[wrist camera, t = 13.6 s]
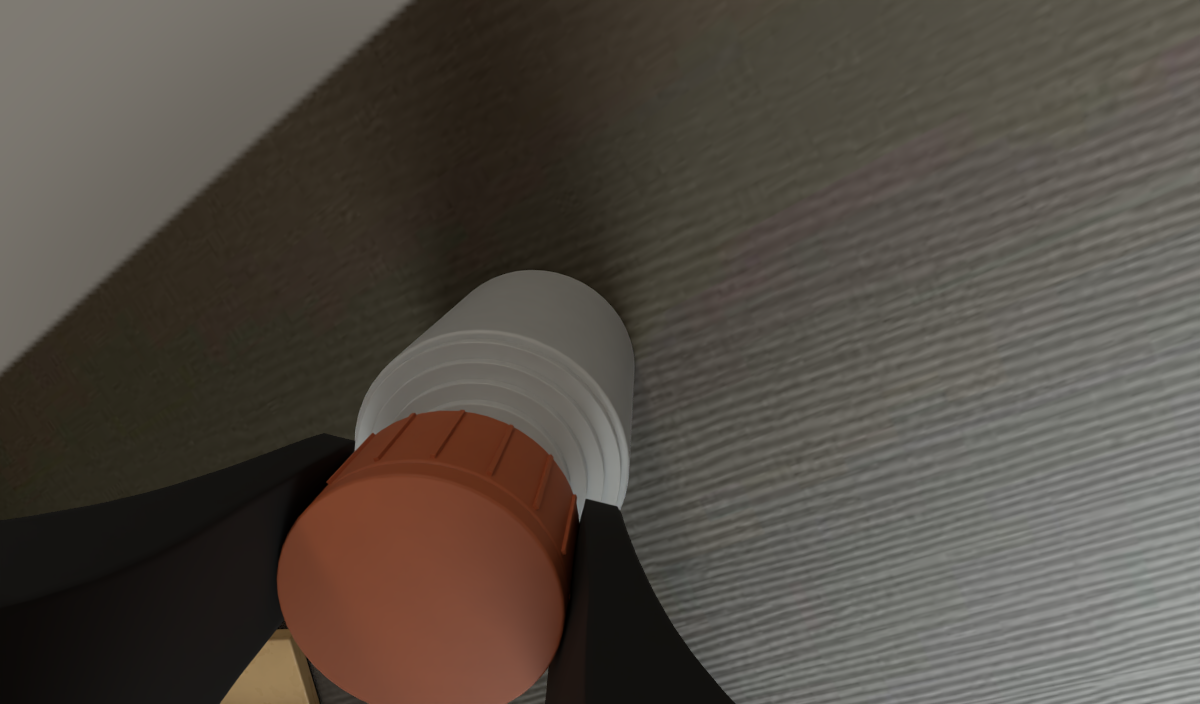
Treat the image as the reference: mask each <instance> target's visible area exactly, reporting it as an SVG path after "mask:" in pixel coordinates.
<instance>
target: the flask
mask: <svg viewBox="0 0 1200 704" xmlns="http://www.w3.org/2000/svg"><path fill="white" fill-rule="evenodd" d="M634 372H635V362H634V352H633V348H632V343H631V340H630V337H629V335H628V332H627V329H626V328H625V326H624V324H623V322H622V320H621V318H620V317H619V315H618V314H617V313H616V311H615V310H614V308H613V307H612V306H611V305H610V304H609V303H608V302H607V301H606V300H605V299H604V298H603V297H602V296H601V295H600V294H598V293H597V292H596V291H595V290H593V289H592V288H590V287H589V286H587V285H585V284H584V283H582V282H580V281H578V280H576V279H574V278H571V277H569V276H566V275H562V274H559V273H555V272H550V271H543V270H524V271H516V272H511V273H506V274H503V275H500V276H498V277H495V278H492V279H491V280H489V281H487V282H485V283H483V284H481V285H480V286H479V287H477V288H476V289H474V290H473V291H472V292H470V293H469V294H468V295H467V296H466V297H465V298H464V299H462V300H461V301H460V302H459V303H458V304H457V305H456V306H454V307H453V308H452V309H451V310H450V311H449V312H447V313H446V314H445V315H444V316H443V317H442V318H441V319H439V320H438V321H437V322H436V323H435V324H434V325H433V326H431V327H430V328H429V329H428V330H427V331H426V332H424V333H423V334H422V335H421V336H420V337H419V338H418V339H416V340H415V341H414V342H413V343H412V344H411V345H409V346H408V347H407V348H406V349H405V350H404V351H403V352H401V353H400V354H399V355H398V356H397V357H396V358H395V359H394V360H392V361H391V362H390V363H389V364H388V365H387V366H386V367H385V368H384V369H383V370H382V371H381V373H380V374H379V375H378V377H377V378H376V379H375V381H374V382H373V383H372V385H371V387H370V389H369V390H368V392H367V394H366V396H365V398H364V400H363V403H362V406H361V408H360V411H359V414H358V419H357V424H356V429H355V441H356V442H355V451H356V449H357V448H358V447H359V446H360V445H361V444H362V443H363V442H364V441H365V440H366V439H367V438H368V437H369V436H370V435H371V434H372V433H374V434H375V435H376V434H377V433H378V432H380V431H381V430H382V429H384V428H386V427H388V426H389V425H391V424H393V423H395V422H397V421H399V420H402V419H404V418H407V417H409V415H410V414H411V413H416V415H417V414H421V413H426V412H434V411H460V410H465V412H471V413H476V414H480V415H484V416H489V417H491V418H494V419H497V420H499V421H502V422H505V423H507V424H508V425H510V424H511V425H513V426H514V428H516V429H518V430H520V431H521V432H523V433H524V434H526V435H527V436H529V437H530V438H532V439H533V440H534V441H535V442H536V443H538V444H539V445H540V446H541V447H542V448H543V449H544V450H545V451H546V452H547V453H548V454H549V455H550V454H551V455H552V456H553V457H554V458H553V459H554V461H555V462H556V463H557V465H558V466H559V468H560V469H561V470H562V472H563V473H564V475H565V477H566V479H567V481H568V483H569V485H570V487H571V489H572V492H573V494H576V495H577V502H576V504H577V509H578V514H579V522H580V518H581V514H582V511H583V507H584V503H585V499H590V500H594V501H598V502H602V503H606V504H610V505H614V506H617V507H618V508H619V510H620V509H621V506H622V504H623V501H624V498H625V495H626V490H627V485H628V481H629V466H630V447H631V428H632V410H633V391H634Z"/></svg>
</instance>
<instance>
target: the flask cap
mask: <svg viewBox="0 0 1200 704" xmlns="http://www.w3.org/2000/svg"><path fill="white" fill-rule="evenodd" d="M553 458H554V457H553V456H552V455H551V454H550V455H549V454H548V453H547V452H546V451H545V450H544V449H543V448H542V447H541V446H540V445H539V444H538V443H536V442H535V441H534V440H533V439H532V438H530V437H529V436H527V435H526V434H524V433H523V432H521V431H520V430H518V429H516V428H514V426H513V425H511V424H510V425H508V424H507V423H505V422H502V421H499V420H497V419H494V418H491V417H489V416H484V415H480V414H476V413H471V412H465V410H460V411H434V412H426V413H421V414H417V415H416V413H411V414H410V415H409V417H407V418H404V419H402V420H399V421H397V422H395V423H393V424H391V425H389V426H388V427H386V428H384V429H382V430H381V431H380V432H378V433H377V434H376V435H375V434H374V433H372V434H371V435H370V436H369V437H368V438H367V439H366V440H365V441H364V442H363V443H362V444H361V445H360V446H359V447H358V448H357V449H356V451H355V452H354V453H353V454H352V455H351V456H350V457H349V458H348V459H347V460H346V461H345V462H344V463H343V464H342V466H341V467H340V468H339V469H338V470H337V471H336V472H335V473H334V474H333V475H332V476H331V477H330V478H329V479H328V481H327V483H328V485H327V486H326V488H325V489H324V490H323V491H322V492H321V493H320V494H319V495H318V496H317V497H316V498H315V500H314V501H313V502H312V503H311V504H310V505H309V506H308V507H307V508H306V509H305V510H304V512H303V513H302V514H301V515H300V516H299V517H298V518H297V520H296V521H295V523H294V524H293V526H292V527H291V529H290V530H289V532H288V534H287V537H286V539H285V541H284V543H283V546H282V549H281V553H280V557H279V561H278V569H277V591H278V598H279V603H280V607H281V611H282V614H283V617H284V619H285V622H286V625H287V627H288V629H289V631H290V633H291V635H292V636H293V638H294V640H295V642H296V643H297V645H298V646H299V648H300V649H301V650H302V652H303V653H304V655H305V656H306V657H307V658H308V659H309V660H310V661H311V663H312V664H313V665H314V666H315V667H316V668H317V669H318V670H319V671H320V672H321V673H323V674H324V675H325V676H326V677H327V678H328V679H329V680H331V681H332V682H333V683H335V684H336V685H337V686H339V687H340V688H342V689H343V690H345V691H346V692H348V693H350V694H351V695H353V696H355V697H357V698H358V699H360V700H363V701H365V702H367V703H369V704H507V703H509V702H510V701H512V700H514V699H515V698H517V697H518V696H520V695H522V694H523V693H524V692H525V691H526V690H528V689H529V688H530V687H531V686H532V685H534V684H535V682H536V681H537V680H538V679H539V678H540V677H541V676H542V675H543V673H544V672H545V671H546V669H547V668H548V666H549V665H550V663H551V662H552V660H553V659H554V656H555V654H556V652H557V650H558V648H559V645H560V642H561V638H562V634H563V631H564V625H565V619H566V612H567V607H568V602H569V600H570V586H571V578H572V570H573V560H574V551H575V546H576V540H577V534H578V528H579V514H578V509H577V504H576V502H577V495H576V494H573V492H572V489H571V487H570V485H569V483H568V481H567V479H566V477H565V475H564V473H563V472H562V470H561V469H560V468H559V466H558V465H557V463H556V462H555V461H554V459H553Z"/></svg>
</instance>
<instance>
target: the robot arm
mask: <svg viewBox="0 0 1200 704" xmlns="http://www.w3.org/2000/svg"><path fill="white" fill-rule="evenodd" d="M355 442H356V441H353V440H349V439H345V438H341V437H337V436H333V435H329V434H325V433H323V434H320V435H316V436H313V437H310V438H307V439H304V440H301V441H299V442H296V443H293V444H290V445H288V446H285V447H282V448H280V449H277V450H274V451H272V452H269V453H266V454H264V455H261V456H258V457H256V458H253V459H250V460H247V461H245V462H242V463H239V464H236V465H234V466H231V467H228V468H225V469H222V470H219V471H216V472H213V473H209V474H206V475H203V476H200V477H197V478H194V479H191V480H188V481H185V482H182V483H178V484H175V485H172V486H169V487H165V488H162V489H158V490H154V491H150V492H147V493H143V494H139V495H135V496H131V497H126V498H122V499H118V500H114V501H109V502H105V503H100V504H96V505H91V506H85V507H79V508H74V509H68V510H62V511H57V512H51V513H45V514H40V515H34V516H28V517H22V518H15V519H8V520H0V704H220V703H221V701H222V700H223V699H224V697H225V696H226V695H227V693H228V692H229V690H230V689H231V688H232V686H233V685H234V684H235V682H236V681H237V679H238V678H239V677H240V675H241V674H242V673H243V672H244V670H245V669H246V668H247V667H248V665H249V664H250V663H251V661H252V660H253V659H254V658H255V656H256V655H257V654H258V653H259V651H260V650H261V649H262V648H263V646H264V645H265V644H266V642H267V641H268V640H269V639H270V637H271V636H272V635H273V634H274V632H275V631H276V630H277V629H278V627H279V626H280V625H281V623H282V622H283V621H284V620H285V619H284V617H283V614H282V611H281V607H280V603H279V598H278V591H277V569H278V561H279V557H280V553H281V549H282V546H283V543H284V541H285V539H286V537H287V534H288V532H289V530H290V529H291V527H292V526H293V524H294V523H295V521H296V520H297V518H298V517H299V516H300V515H301V514H302V513H303V512H304V510H305V509H306V508H307V507H308V506H309V505H310V504H311V503H312V502H313V501H314V500H315V498H316V497H317V496H318V495H319V494H320V493H321V492H322V491H323V490H324V489H325V488H326V486H327V485H328V483H327V481H328V479H329V478H330V477H331V476H332V475H333V474H334V473H335V472H336V471H337V470H338V469H339V468H340V467H341V466H342V464H343V463H344V462H345V461H346V460H347V459H348V458H349V457H350V456H351V455H352V454H353V453H354V450H355ZM545 704H735V703H734V702H733V701H732V700H731V699H730V697H729V696H728V695H727V694H726V693H725V692H724V691H723V690H722V689H721V687H720V686H719V685H718V684H717V683H716V681H715V680H714V679H713V678H712V677H711V676H710V674H709V673H708V672H707V671H706V670H705V668H704V667H703V666H702V665H701V664H700V662H699V661H698V660H697V658H696V657H695V656H694V655H693V653H692V652H691V651H690V649H689V648H688V646H687V645H686V643H685V642H684V641H683V639H682V638H681V636H680V635H679V633H678V632H677V631H676V629H675V628H674V626H673V624H672V623H671V621H670V619H669V618H668V616H667V614H666V613H665V611H664V609H663V607H662V606H661V604H660V602H659V600H658V598H657V597H656V595H655V593H654V591H653V589H652V587H651V585H650V583H649V581H648V579H647V577H646V575H645V572H644V570H643V568H642V566H641V564H640V562H639V560H638V557H637V555H636V553H635V550H634V548H633V545H632V543H631V540H630V538H629V535H628V532H627V529H626V526H625V524H624V520H623V517H622V514H621V512H620V510H619V508H618V507H617V506H614V505H610V504H606V503H602V502H598V501H594V500H590V499H585V503H584V507H583V511H582V514H581V518H580V522H579V528H578V534H577V540H576V546H575V551H574V560H573V570H572V578H571V586H570V600H569V602H568V607H567V612H566V619H565V625H564V631H563V634H562V638H561V642H560V645H559V648H558V650H557V652H556V654H555V656H554V659H553V660H552V662H551V663H550V665H549V670H548V680H547V691H546V702H545Z"/></svg>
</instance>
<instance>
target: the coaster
mask: <svg viewBox="0 0 1200 704" xmlns="http://www.w3.org/2000/svg"><path fill="white" fill-rule="evenodd" d="M220 704H320V702H319V699H318V696H317V693H316V689H315V686H314V683H313V679H312V676H311V673H310V669H309V666H308V663H307V659H306V656H305V655H304V653H303V652H302V650H301V649H300V648H299V646H298V645H297V643H296V642H295V640H294V638H293V636H292V635H291V633H290V631H289V629H277V630H276V631H275V632H274V634H273V635H272V636H271V637H270V639H269V640H268V641H267V642H266V644H265V645H264V646H263V648H262V649H261V650H260V651H259V653H258V654H257V655H256V656H255V658H254V659H253V660H252V661H251V663H250V664H249V665H248V667H247V668H246V669H245V670H244V672H243V673H242V674H241V675H240V677H239V678H238V679H237V681H236V682H235V684H234V685H233V686H232V688H231V689H230V690H229V692H228V693H227V695H226V696H225V697H224V699H223V700H222V701H221V703H220Z"/></svg>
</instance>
